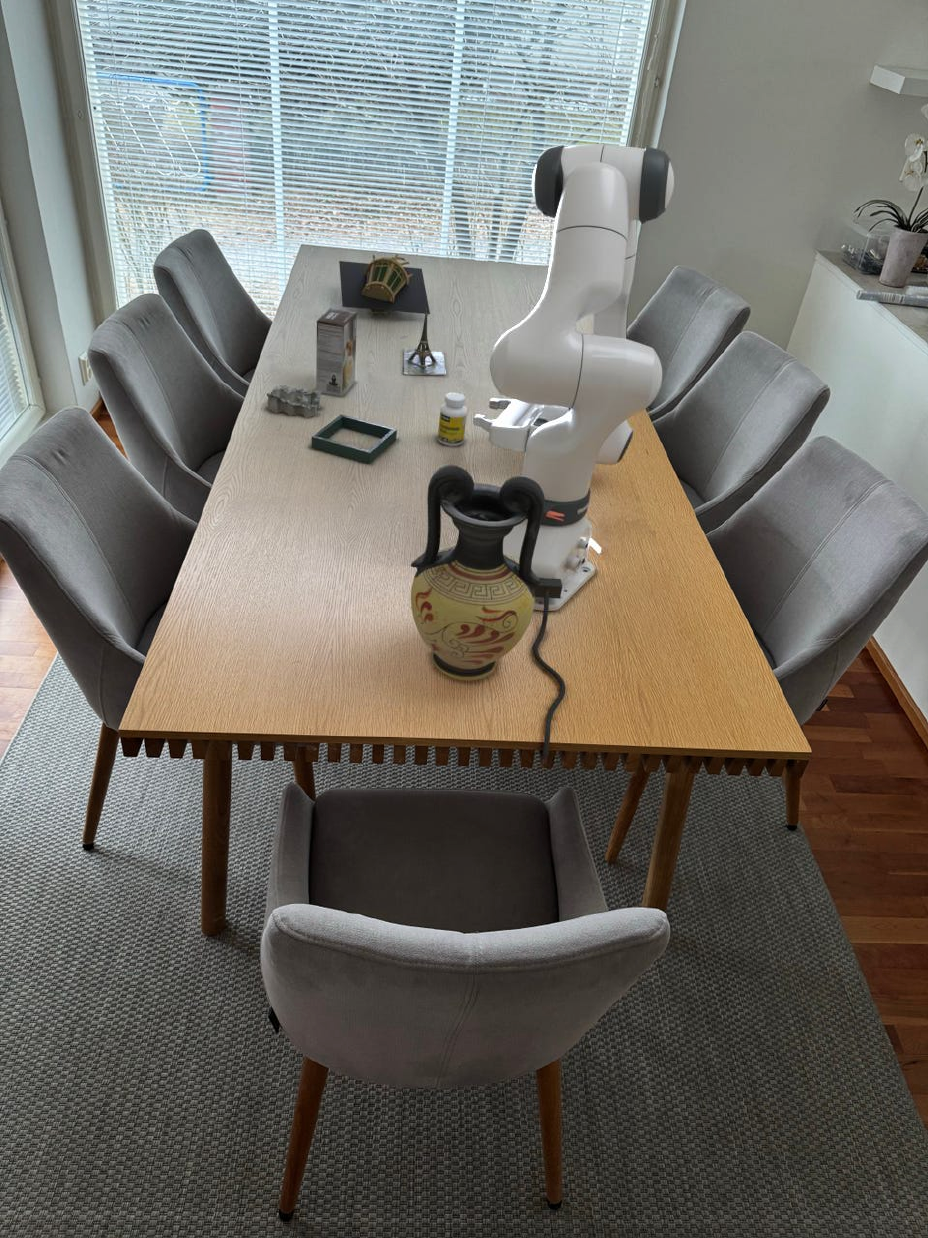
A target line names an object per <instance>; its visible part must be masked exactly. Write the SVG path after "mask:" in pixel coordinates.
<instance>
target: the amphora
mask: <svg viewBox="0 0 928 1238" xmlns="http://www.w3.org/2000/svg"><path fill="white" fill-rule="evenodd" d="M426 496H427V497H426V498H427V500H426V501H427V538H426V540H427V542H426V547H425V551H424V552H423V553H422V554H421V555H419V556H418V557H417V558H415V560H413V561H412V562H411V564H410V567H412V568H415V569H416V572H415V574H414V577H413V579H412V580H413V581H412V584H411V589H410V609H411V614H412V617H413V621H414V624H415V627H416V629H417V632H418V634H419V636H420V638H421V639H422V641H423V643H424V645H426V647H427V648H428V649H429V650H431V652H432V661H433V663H434V665H435V667H436V668H437V669H438V670H439V671H440V672H441V673H443V674H444V675H446V676H448V677H449V678H452V679H456V680H459V681H471V682H472V681H477V680H481V679H482V680H483V679H484V678H487V677H489V676H490V675H491V674H492V673H493V672H494V671H495V669H496V667H497V661H498V660H500V659H501V658H503V657H504V656H506V655H508V654H509V653H510V652H511V651H512V650H513V649H514V648H515V647H516V646H517V645H518V644H519V642H520V641H521V640H522V638H523V637H524V635H525V633H526V631H527V629H528V627H529V625H530V623H531V620H532V617H533V614H534V600H535V591H534V587H535V586H537V585H539V584H540V583H541V581H540V579H539V578H538V577H537V575H536V574H535V573H534V572H533V571H532V569H531V566H532V558H533V554H534V549H535V545H536V541H537V537H538V533H539V529H540V525H541V520H542V516H543V511H544V506H545V496H544V493H543V491H542V489H541V487H540V485H539V484H538V483H536V482H535V481H534V480H532V479H530V478H527V477H522V475H521V476H519V475H518V476H512V477H510V478H508V479H506V480H505V481H504V482H503V484H502V486H499V485H495V484H490V483H485V482H484V483H482V482H475V481H474V478H473V476H472V475H471V474H470V473H469V472H468V471H467V470H466V469H465V468H464V467H462V466H458V465H457V464H456V465H455V464H448V465H444V466H441V467H440V468H438V469H437V470H436V471H435V472H433V474H432V476H431V478H430V480H429V484H428V487H427V495H426ZM442 511H443V512H444V513H445V514H446V515H447V516H448V517H450V518H451V521H452V523H453V526H454V527H455V528H456V529H457V530H458V535H457V540H456V543H455V544H451V545H446V546H444V547H442V548H440V546H441V533H442ZM526 518H528V521H527V526H526V531H525V535H524V539H523V543H522V547H521V552H520V558H519V561H518V560H517V559H516V558H514V557H513V556H511V555H510V554H508V553H507V552H504V551H503V540H504V537H505V536H506V535H508V534H509V533H510V532H511V531H512V529H513V527H514V526H517V525H519V524H521V523H522V522H524V521H525V520H526Z"/></svg>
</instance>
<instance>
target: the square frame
mask: <svg viewBox="0 0 928 1238" xmlns="http://www.w3.org/2000/svg"><path fill="white" fill-rule="evenodd" d="M342 428H344V429H348V430H351V431H355V432H359V433H362V434H366V435H370V436H373V437H378V438H380V440H377V442H376V443H375V444H374V445H373V446H372V447H370V448H369V449H368V450H367V449H364V448H360V447H358V446H357V447H356V446H353V445H349V444H346V443H342V442H339V441H335V440H331V439H330V438H331V437H333V435H335V434H336V433H337V432H338V431H340V430H341V429H342ZM397 434H398V429H397V428H394V427H390V426H386V425H382V424H379V423H375V422H372V421H368V420H364V419H360V418H356V417H352V416H349V415H345V414H342V413H341V414H340V415H338V416H336V418H334V419H333V420H332V421H330V422H329V423H327V424H326V425H325V426H324V427H322V428H321V429H320V430H319V431H317V432H316V433H315V434H313V435H312V436H311V449H314V450H317V451H321V452H325V453H327V454H331V455H336V456H339V457H341V458H346V459H349V460H354V461H357V462H360V463H364V464H367V465H371V464H372V463H373V462H374V461H375V460H376V459H377V458H378V457H379V456H381V455H382V454H383V453H384V452H385V451H386V450H387V449H388V448H389V447H390V446H392V445H393V443H395V442H396V441H397Z"/></svg>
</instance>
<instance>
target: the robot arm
mask: <svg viewBox="0 0 928 1238" xmlns="http://www.w3.org/2000/svg"><path fill="white" fill-rule="evenodd" d="M531 189H532V194H533V198H534V200H535V201H534V202H535V206H536V208H537V209H538V210H539V212H541V214H543V215H545V216H547V217H550V218H553V219H555V223H554V227H553V235H552V236H553V237H552V245H551V253H550V261H549V266H548V273H547V277H546V281H545V285H544V289H543V292H542V294H541V297H540V299H538V302H537V304H536V306H535V307H534V308H533V309H532V311H531V312H530V313H529V314H528V315H527V316H526V317H525V318H524V319H523V320H522V321H521V322H519V323H517V324H516V325H515V326H513V327H512V328H510V329H508V330H507V331H505V332H504V333H503V334H502V335H501V336H500V337H499V338H498V340H497V341H496V343H495V344H494V346H493V348H492V350H491V354H490V359H489V372H490V373H489V375H490V377H491V381H492V383H493V386H494V387H495V389H496V391H497V392H498V393H499V394H500V395H502V396H504V397H507V398H496V397H493V398H491V399H490V400H489V403H488V408H489V409H490V410H495V411H498V410H504V411H502V413H501V414H500V415H499V416H498V417H497V418H496V419H488V418H486V416H485V415H482V414H480V413H479V414H476V415H475V416H474V417H473V420H472V424H473V425H474V426H476V427H479V428H482V430H484V431H485V432H487V433H488V443H490V444H491V445H492V446H495V447H497V448H500V449H504V450H506V451H510V452H514V453H518V454H519V453H521V454H522V453H524V459H523V460H524V461H523V464H522V471H521V476H522V477H527V478H530V479H532V480H534V481H535V482H536V483H538V484H539V485H540V487H541V489H542V491H543V493H544V496H545V506H544V511H543V516H542V520H541V525H540V529H539V533H538V537H537V541H536V545H535V549H534V554H533V558H532V566H531V569H532V571H533V572H534V573H535V574H536V575H537V577H538V578H539V579H540V581H541V583H540V584H539V585H537V586H535V587H534V591H535V600H534V609H533V611H534V610H536V611H542V612H543V614H542V620H541V625H540V631H539V633H538V636H537V638H536V639H535V641H534V643H533V646H532V647H533V648H532V654H533V657H534V659H535V661H536V662H537V663H538V664H539V665H540V666H541V668H543V669H544V670H545V671H546V672H548V673H549V674H550V675H551V676H553V677H554V679H555V680H556V681H557V683H558V685H559V693H558V695H557V697H556V698H555V700H554V701H553V702H552V704H551V705H550V707H549V709H548V711H547V714H546V718H545V724H544V737H543V738H544V739H543V747H542V754H541V757H542V758H543V759H544V760H545V759H548V758H549V752H550V751H549V750H550V742H551V727H552V726H551V725H552V721H553V715H554V713H555V711H556V709H557V708H558V706H559V705H560V704H561V702H562V701H563V699H564V698H565V694H566V684H565V681H564V679H563V677H562V676H561V675H560V673H558V672H557V671H556V670H555V669H553V668H552V667H551V666H550V665H548V664H547V663H546V662H545V661H544V660H543V659H542V657H541V656H540V653H539V646H540V644H541V643H542V640H543V639H544V636H545V633H546V628H547V624H548V618H549V612H556V611H559V610H560V609H561V608H562V607H563V606H564V605H565V604H566V603H567V602H568V601H569V600H571V598H572V597H573V596H574V595H575V594H577V592H579V590H580V589H581V588H582V587H584V585H585V584H586V583H587V582H588V581H589V580H590V579H591V578H592V577H593V576H594V575H595V573H596V567H595V565H594V564H593V563H592V562H590V561H589V560H588V557H589V551H590V547H592V548H593V549H594V550H595V551H596V552H597V553H598V554H601V551H602V547H601V546H600V545H599V544H598V543H597V542H596V541H595V540H594V539H593V538H592V534H593V526H592V523H591V522H590V521H589V518H588V517H587V513H588V508H589V506H590V501H591V488H590V486H591V485H590V484H591V480H592V476H593V472H594V469H595V465H596V464H599V465H609V466H611V465H613V466H614V465H616V464H618V463H620V462H621V461H622V459H623V457H624V456H625V454H626V453H627V450H628V448H629V445H630V444H631V442H632V440H633V435H634V430H633V428H632V427H631V426H630V424H629V422H628V419H630V418H631V417H633V416H635V415H637V414H639V413H641V412H643V411H644V410H646V409H647V408H648V407H649V406H650V405H651V404H652V403H653V402H654V401H655V399H657V396H658V394H659V393H660V389H661V387H662V384H663V383H662V382H663V367H662V362H661V359H660V358H659V355H658V353H657V352H656V351H655V349H654V348H653V347H651V346H649V345H645V344H643V343H640V342H638V341H634V340H631V339H628V314H629V313H628V312H629V310H628V308H629V299H630V294H631V291H632V286H633V281H634V276H635V268H636V260H637V247H638V246H637V243H638V229H637V225H638V224H637V221H639V222H640V224H641V225H643V224H646V223H647V222H649V221H652V220H656V219H658V218H659V217H660V216H661V215H663V214H664V213H665V212H666V210H667V207H668V205H669V203H670V201H671V198H672V196H673V193H674V189H675V173H674V168H673V166H672V163H671V158H670V156H669V155H668V153H667V152H666V151H665V150H663V149H660V148H656V147H651V146H646V147H645V148H642V147H634V146H626V145H611V144H605V143H591V144H579V145H571V146H565V145H564V144H563V145H562V144H561V145H557V146H551V147H548V148H546V149H544V151H543V152H542V153H541V154H540V155H539V156H538V158H537V161H536V164H535V167H534V170H533V173H532V180H531ZM591 315H593V334H592V333H591V334H590V333H583V332H581V331H578V330H577V323H578V322H580V320H582V319H584V318H586V317H588V316H591ZM527 521H528V518H526V520H525V521H524V522H522V523H521V524H519V525H517V526H514V527H513V529H512V531H511V532H510V533H509V534H508V535H506V536H505V537H504V540H503V551H504V552H507V553H508V554H510V555H511V556H513V557H514V558H516V559H517V560H518V561H519V558H520V552H521V547H522V543H523V539H524V535H525V531H526V526H527ZM518 907H519V903H517V902H514V901H513V902H512V907H511V910H510V915H511V914H512V915H515V916H516V914H517V909H518Z"/></svg>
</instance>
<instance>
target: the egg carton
mask: <svg viewBox="0 0 928 1238" xmlns="http://www.w3.org/2000/svg"><path fill="white" fill-rule="evenodd" d="M321 396H322V393H321V390H318V391H316V389H313V390H311V389H307V390H306V388H304V387H303V388H300V387H299V388H298V387H291V386H288V385H286V384H285V385H284V384H281V385H277V386H275V387H273V388H272V390H271V391H270V393H269V392H267V393H266V397H267V409H268V410H269V411H271V412H272V413H274V414H278V413H280V412H281V413H282V412H283V413H287V414H288V415H289V416H295V415H302V416H303V417H304V418H311V417H316V416H317V414H318V409H320V408H321Z"/></svg>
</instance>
